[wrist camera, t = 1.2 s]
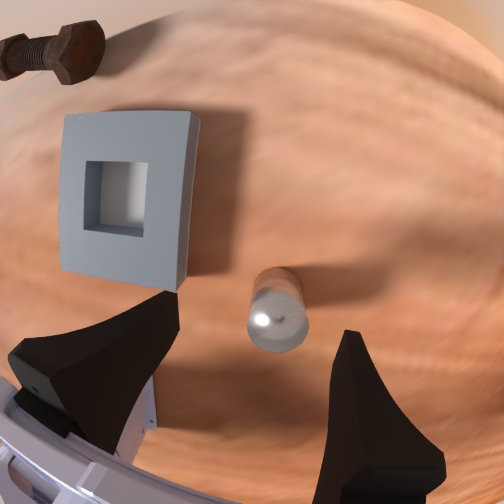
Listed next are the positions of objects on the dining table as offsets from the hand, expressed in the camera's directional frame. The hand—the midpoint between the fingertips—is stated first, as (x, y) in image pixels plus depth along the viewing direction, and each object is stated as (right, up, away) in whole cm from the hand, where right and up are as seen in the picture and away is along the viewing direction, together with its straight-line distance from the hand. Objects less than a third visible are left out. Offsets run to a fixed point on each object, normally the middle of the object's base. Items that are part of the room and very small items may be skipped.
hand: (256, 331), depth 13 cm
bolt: (-20, +22, +7) cm, 30 cm away
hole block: (-9, +8, +10) cm, 16 cm away
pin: (+2, 0, +11) cm, 11 cm away
